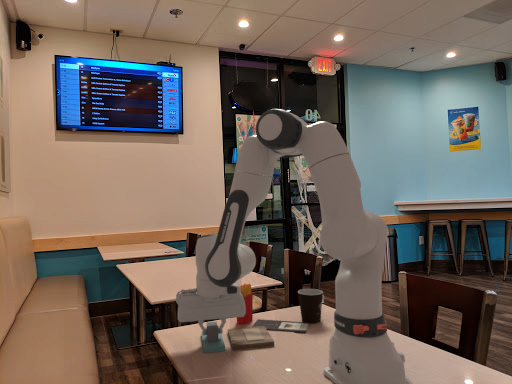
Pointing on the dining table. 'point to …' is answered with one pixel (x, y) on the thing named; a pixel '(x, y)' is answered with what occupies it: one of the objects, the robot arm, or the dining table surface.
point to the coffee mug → (310, 305)
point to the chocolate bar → (283, 325)
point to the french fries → (246, 304)
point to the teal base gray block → (213, 339)
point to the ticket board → (250, 338)
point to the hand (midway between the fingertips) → (212, 333)
